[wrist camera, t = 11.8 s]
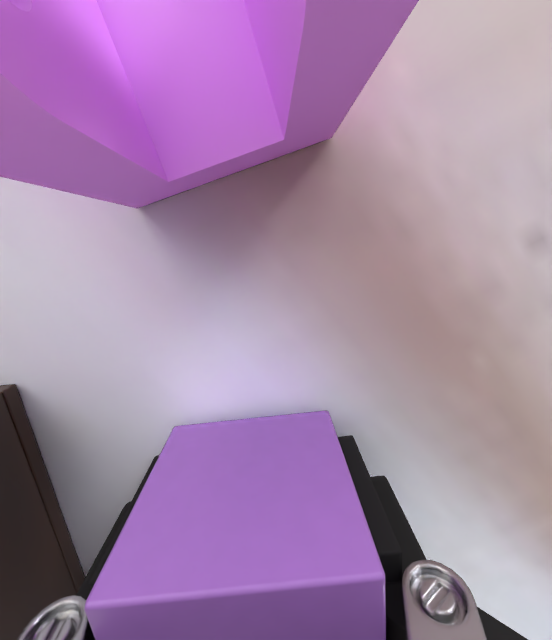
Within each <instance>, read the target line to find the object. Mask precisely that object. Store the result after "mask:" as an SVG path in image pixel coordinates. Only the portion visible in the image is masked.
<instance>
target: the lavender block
mask: <svg viewBox="0 0 552 640" xmlns="http://www.w3.org/2000/svg"><path fill="white" fill-rule="evenodd" d="M84 610H85V613H86V616H87V618H88V621H89V624H90V626H91V629H92V632H93V634H94V637H95V640H386V601H385V573H384V570H383V567H382V564H381V561H380V558H379V555H378V552H377V550H376V547H375V544H374V541H373V538H372V535H371V532H370V529H369V526H368V524H367V521H366V518H365V515H364V512H363V509H362V506H361V503H360V500H359V498H358V495H357V492H356V489H355V486H354V483H353V480H352V477H351V475H350V472H349V469H348V466H347V463H346V460H345V457H344V454H343V451H342V449H341V446H340V443H339V440H338V437H337V434H336V431H335V428H334V426H333V423H332V420H331V417H330V414H329V412H328V411H316V412H307V413H297V414H287V415H278V416H268V417H259V418H249V419H239V420H230V421H220V422H211V423H201V424H191V425H182V426H175V427H174V428H173V430H172V432H171V434H170V436H169V438H168V440H167V442H166V444H165V446H164V448H163V450H162V452H161V453H160V455H159V457H158V459H157V461H156V463H155V465H154V467H153V469H152V471H151V473H150V475H149V477H148V479H147V481H146V483H145V485H144V487H143V489H142V491H141V493H140V495H139V497H138V499H137V501H136V503H135V505H134V507H133V509H132V511H131V513H130V515H129V517H128V519H127V521H126V523H125V525H124V527H123V529H122V531H121V533H120V535H119V537H118V539H117V541H116V543H115V545H114V547H113V549H112V551H111V553H110V555H109V557H108V559H107V561H106V563H105V564H104V566H103V568H102V570H101V572H100V574H99V576H98V578H97V580H96V582H95V584H94V586H93V588H92V590H91V592H90V594H89V596H88V598H87V600H86V603H85V608H84Z"/></svg>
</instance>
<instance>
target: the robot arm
mask: <svg viewBox="0 0 552 640" xmlns="http://www.w3.org/2000/svg"><path fill="white" fill-rule="evenodd" d="M338 440H339V443H340V446H341V449H342V451H343V454H344V457H345V460H346V463H347V466H348V469H349V472H350V475H351V477H352V480H353V483H354V486H355V489H356V492H357V495H358V498H359V500H360V503H361V506H362V509H363V512H364V515H365V518H366V521H367V524H368V526H369V529H370V532H371V535H372V538H373V541H374V544H375V547H376V550H377V552H378V555H379V558H380V561H381V564H382V567H383V570H384V573H385V601H386V640H528V639H526V638H524V637H523V636H521V635H520V634H518V633H517V632H515V631H514V630H512V629H511V628H509V627H507V626H506V625H504V624H503V623H501V622H500V621H498V620H497V619H495V618H493V617H492V616H490V615H489V614H487V613H486V612H484V611H483V610H481V609H480V608H478V607H477V606H476V602H475V600H474V597H473V595H472V593H471V591H470V589H469V587H468V586H467V585H466V583H465V582H464V581H463V579H462V578H461V577H460V576H458V575H457V574H456V573H455V572H454V571H453V570H452V569H450V568H448V567H446V566H445V565H443V564H441V563H438V562H435V561H432V560H426V558H425V556H424V554H423V551H422V549H421V547H420V545H419V543H418V541H417V539H416V537H415V535H414V533H413V531H412V529H411V527H410V525H409V523H408V521H407V519H406V517H405V515H404V513H403V511H402V509H401V507H400V505H399V503H398V501H397V499H396V496H395V494H394V492H393V490H392V488H391V486H390V484H389V482H388V480H387V479H386V477H385V476H374V477H370V475H369V473H368V471H367V468H366V466H365V464H364V461H363V459H362V457H361V454H360V452H359V450H358V447H357V445H356V442H355V440H354V438H353V436H343V437H338ZM158 457H159V456H156V457H155V458H154V459H153V461H152V463H151V465H150V467H149V469H148V471H147V473H146V475H145V477H144V479H143V480H142V482H141V484H140V486H139V488H138V490H137V492H136V494H135V496H134V498H133V500H132V501H131V502H128V503H127V504H126V505H125V506H124V508H123V509H122V511H121V513H120V515H119V517H118V519H117V521H116V522H115V524H114V526H113V528H112V530H111V532H110V534H109V535H108V537H107V539H106V541H105V543H104V545H103V546H102V548H101V550H100V552H99V554H98V556H97V558H96V559H95V561H94V563H93V565H92V567H91V569H90V571H89V572H88V574H87V576H86V578H85V580H84V582H83V583H82V585H81V587H80V589H79V591H78V593H77V595H76V596H74V595H72V596H68V597H63V598H61V599H59V600H57V601H55V602H53V603H51V604H50V605H48V606H47V607H46V608H44V609H43V610H42V611H40V612H39V613H38V614H37V615H36V616H35V617H34V618H33V619H32V620H31V621H30V622H29V623H28V625H27V626H26V627H25V628H24V630H23V631H22V632H21V634H20V635H19V637H18V639H17V640H95V637H94V634H93V632H92V629H91V626H90V624H89V621H88V618H87V616H86V613H85V610H84V608H85V603H86V600H87V598H88V596H89V594H90V592H91V590H92V588H93V586H94V584H95V582H96V580H97V578H98V576H99V574H100V572H101V570H102V568H103V566H104V564H105V563H106V561H107V559H108V557H109V555H110V553H111V551H112V549H113V547H114V545H115V543H116V541H117V539H118V537H119V535H120V533H121V531H122V529H123V527H124V525H125V523H126V521H127V519H128V517H129V515H130V513H131V511H132V509H133V507H134V505H135V503H136V501H137V499H138V497H139V495H140V493H141V491H142V489H143V487H144V485H145V483H146V481H147V479H148V477H149V475H150V473H151V471H152V469H153V467H154V465H155V463H156V461H157V459H158Z"/></svg>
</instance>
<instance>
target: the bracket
mask: <svg viewBox="0 0 552 640" xmlns="http://www.w3.org/2000/svg"><path fill="white" fill-rule="evenodd" d="M418 1H419V0H0V177H4V178H9V179H13V180H17V181H22V182H26V183H30V184H35V185H39V186H43V187H48V188H52V189H56V190H60V191H65V192H69V193H73V194H78V195H82V196H86V197H91V198H95V199H99V200H104V201H108V202H112V203H116V204H121V205H125V206H129V207H134V208H140V207H143V206H145V205H148V204H151V203H154V202H156V201H159V200H162V199H165V198H167V197H170V196H173V195H176V194H178V193H181V192H184V191H187V190H189V189H192V188H195V187H198V186H200V185H203V184H206V183H209V182H211V181H214V180H217V179H220V178H222V177H225V176H228V175H231V174H233V173H236V172H239V171H242V170H244V169H247V168H250V167H253V166H255V165H258V164H261V163H264V162H266V161H269V160H272V159H275V158H277V157H280V156H283V155H286V154H288V153H291V152H294V151H297V150H299V149H302V148H305V147H308V146H310V145H313V144H316V143H319V142H321V141H324V140H327V139H330V138H332V136H333V135H334V133H335V132H336V130H337V128H338V127H339V125H340V124H341V122H342V121H343V119H344V117H345V116H346V114H347V113H348V111H349V109H350V108H351V106H352V105H353V103H354V102H355V100H356V98H357V97H358V95H359V94H360V92H361V91H362V89H363V87H364V86H365V84H366V83H367V81H368V80H369V78H370V76H371V75H372V73H373V72H374V70H375V68H376V67H377V65H378V64H379V62H380V61H381V59H382V57H383V56H384V54H385V53H386V51H387V50H388V48H389V46H390V45H391V43H392V42H393V40H394V39H395V37H396V35H397V34H398V32H399V31H400V29H401V27H402V26H403V24H404V23H405V21H406V20H407V18H408V16H409V15H410V13H411V12H412V10H413V9H414V7H415V5H416V4H417V2H418Z"/></svg>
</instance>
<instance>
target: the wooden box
mask: <svg viewBox="0 0 552 640" xmlns="http://www.w3.org/2000/svg"><path fill="white" fill-rule="evenodd" d="M84 580H85V577H84V574H83V571H82V569H81V566H80V563H79V560H78V557H77V555H76V552H75V549H74V546H73V543H72V541H71V538H70V535H69V532H68V530H67V527H66V524H65V521H64V518H63V516H62V513H61V510H60V507H59V504H58V502H57V499H56V496H55V493H54V490H53V488H52V485H51V482H50V479H49V477H48V474H47V471H46V468H45V465H44V463H43V460H42V457H41V454H40V451H39V449H38V446H37V443H36V440H35V438H34V435H33V432H32V429H31V426H30V424H29V421H28V418H27V415H26V412H25V410H24V407H23V404H22V401H21V399H20V396H19V393H18V390H17V387H16V385H15V384H12V385H3V386H0V640H17V639H18V637H19V635H20V634H21V632H22V631H23V630H24V628H25V627H26V626H27V625H28V623H29V622H30V621H31V620H32V619H33V618H34V617H35V616H36V615H37V614H38V613H39V612H40V611H42V610H43V609H44V608H46V607H47V606H48V605H50V604H51V603H53V602H55V601H57V600H59V599H61V598H63V597H68V596H72V595H74V596H76V595H77V593H78V591H79V589H80V587H81V585H82V583H83V582H84Z"/></svg>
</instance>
